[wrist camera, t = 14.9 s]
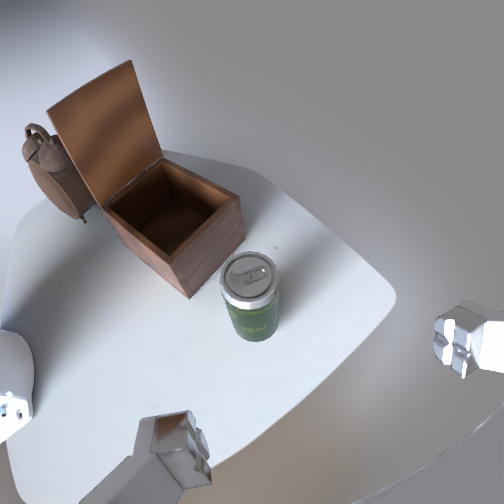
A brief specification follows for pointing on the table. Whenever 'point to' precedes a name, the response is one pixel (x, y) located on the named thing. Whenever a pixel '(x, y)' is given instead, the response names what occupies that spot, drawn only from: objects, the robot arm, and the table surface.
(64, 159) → the alarm clock
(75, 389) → the table surface
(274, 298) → the beer can
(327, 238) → the table surface
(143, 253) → the chest
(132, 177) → the lid
